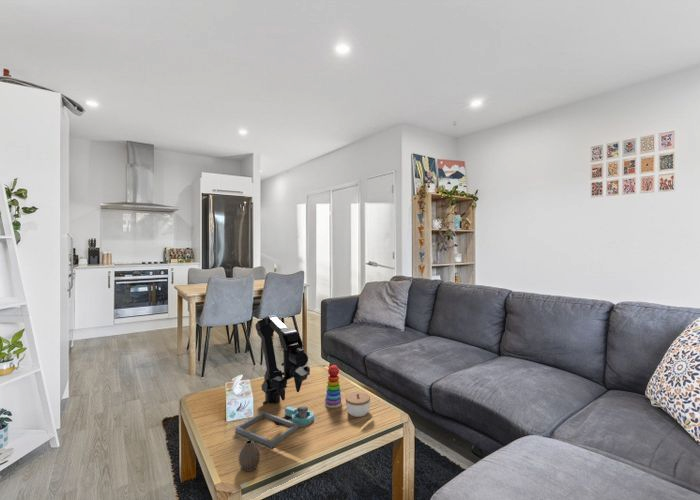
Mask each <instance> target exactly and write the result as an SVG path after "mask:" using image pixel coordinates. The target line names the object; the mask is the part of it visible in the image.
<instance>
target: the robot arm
mask: <svg viewBox="0 0 700 500" xmlns="http://www.w3.org/2000/svg"><path fill="white" fill-rule="evenodd" d="M254 326H255V330H256V334H257V336H258V337H259V338H260V339H261V343H262V348H263V355H264V360H265V361H264V362H265V367H266V371H265V374H264V376H263V377H264V381H263V382H262V384H261V386H260V387H261V390H262V392H263V393H264V395H265V396H264V397H265V398H264V399H265V400H264V401H262V404H263V405H267V404H278V403H280V402H281V400H282V401H285V398H286V389H287V387H288V381H289V380H292V379H293V380H294V385H295V391H296V393H300V390H301V387H302V383H303V382H304V381H306V380H307V379H308V376H310V374H311V373H310V372H311V369H310V365H309V366H308V365H307V364H308V361H309V357H308V354H307V353H306V352H305V351H304V349H303V348H304V345H303V340H302V338H301V337H300V333H299V332H298V331H297V330H296V329H294V328H291V327H287V326H286V325H285V323H283V322H282V321H281V320H280V319H279V317H278V315H276V314H272V315H266V316H265V317H264V318H262V319H260V320H257V322H256V323H255V325H254ZM274 332H275V333H276V334H277V336H278V337H279V341H280V343H281V348H282V351H283V353H282V354H283V355H282V357H283V361H282V362H281V366H283V371H282V370H280V369H279V368H278V366H277V359H276V354H275V349H274V342H273V341H274V340H273V335H274Z"/></svg>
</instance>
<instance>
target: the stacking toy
mask: <svg viewBox="0 0 700 500" xmlns="http://www.w3.org/2000/svg"><path fill="white" fill-rule="evenodd" d="M327 369H328V370H327V373H328V378H327V382H326V384H327V385H326V388H327V389H326V394H325V399H324V407H326V408H328V409H330V408H331V409H336V408H340V407H341V406H342V405H343V401H342V393H341V385H340V381H339V380H340V379H339V378H340V377H339V373H340V368H339V367H338V366H337V365H336V364H332V365H330V366H329V367H328V368H327Z"/></svg>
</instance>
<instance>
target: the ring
mask: <svg viewBox="0 0 700 500" xmlns="http://www.w3.org/2000/svg"><path fill="white" fill-rule="evenodd" d="M297 409H298V408H297V407H294V406H289V405H288V406H286V407H285V408H284V415H285V416H288V417H289V418H292V422H294V423H297V424H299V425H306V424H309V423H311V422H312V421H314V416H315V414H314V411H313V410H309V409H308V411H307V412H306V416H308V417H307V418H297V417H299V412H298V411H297ZM314 422H315V421H314ZM312 423H313V422H312ZM312 423H311V424H312ZM309 425H310V424H309Z"/></svg>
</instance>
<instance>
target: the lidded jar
mask: <svg viewBox="0 0 700 500" xmlns="http://www.w3.org/2000/svg"><path fill="white" fill-rule="evenodd" d="M345 405H346V410H347V412H348V413H349V414H350V415H351V416H352V417H355V418H361V417H364V416H366V415H367V414H368V412H369V410H370V406H371V396H370V395H369V394H368V393H365V392H361V391H356V392H351V393H348V394H347V395H346V396H345Z"/></svg>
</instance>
